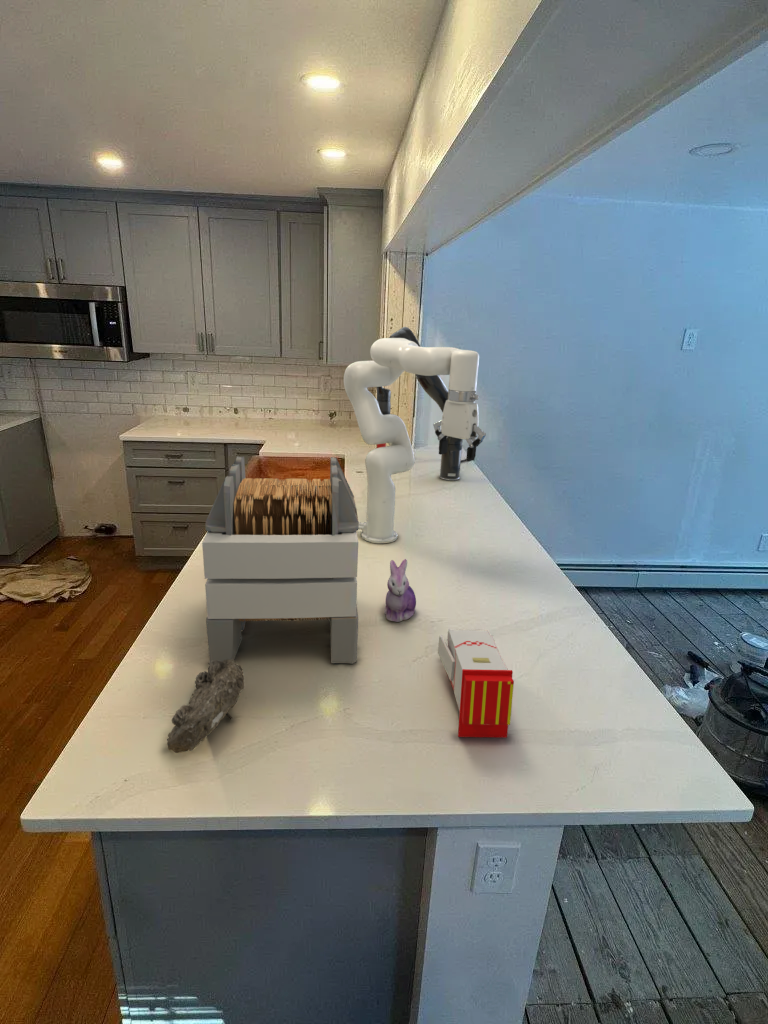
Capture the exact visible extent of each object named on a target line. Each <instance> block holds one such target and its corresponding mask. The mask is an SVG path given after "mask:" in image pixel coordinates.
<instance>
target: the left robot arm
mask: <svg viewBox="0 0 768 1024" xmlns="http://www.w3.org/2000/svg"><path fill="white" fill-rule="evenodd" d="M369 356H370V357H371V359H372V360H359V361H355V362H352V363H349V365H347V367H346V368H345V370H344V373H343V388H344V391H345V394H346V396H347V398H348V400H349V402H350V404H351V406H352V409H353V412H354V415H355V419H356V423H357V426H358V429H359V433H360V436H361V438H362V440H363V442H364V443H365V444H366V445H369V446H375V445H376V446H377V444H384V443H386V444H388V445H386V447H379V448H377V447H375V448H373V449H371V450H369V451H368V453H367V454H366V455H365V459H364V465H365V471H366V480H367V481H366V482H367V483H366V490H367V491H366V519H365V520H366V521H364V522H362V521H359V529H358V530H361V534H360V535H361V538H362V539H363V540H364V541H366V542H368V543H373V544H389V543H393V542H395V541H397V540H398V537H399V534H398V532H397V531H396V530H395V528H394V527H395V510H396V509H395V508H396V507H395V506H396V485H395V482H394V481H393V479H392V476H393V475H397V474H402V473H407V472H409V471H411V470H412V469H413V467H414V466H415V460H416V459H415V452H414V449H413V446H412V442H411V439H410V436H409V433H408V429H407V425H406V424H405V422H404V420H403V419H402V418H401V417H400V416H399V415H397V414H393V413H390V414H388V415H383V414H382V413H381V411H380V408H379V404H378V402H377V397H375V396H374V394H373V393H372V392H371V391H369V389H368V388H376V387H388V386H391V385H393V384H394V383H395V382H396V381H397V380H398V379H399V378H400V377H401V375H402V374H403V373H404V372H406V373H408V374H412V375H413V374H414V375H416V374H418V375H425V376H433V375H439V376H449V379H448V389H447V390H448V400H446V403H445V406H444V410H443V412H442V416H441V420H439V421H436V422H434V423H433V424H432V425H433V428H434V434H435V435H436V437H437V440H438V441H439V442H438V455H440V456H441V455H442V454H446V453H447V447H448V440H447V439H446V438H447V437H448V436H450V437H455V438H459V439H463V441H466V442H467V444H468V447H467V448H466V456H465V457H466V458H465V459H466V461H465V462H468V463H469V462H472V461H475V459H476V455H477V447H479V446H480V445H481V444H482V443H483V440H484V439H485V437H486V436H487V433H486V432H485V431H484V430H483V429H482V428H480V427H479V425H480V424H479V423H480V420H479V419H480V417H479V415H480V414H479V412H480V411H479V404H478V402H476V401H478V400H479V397H480V396H479V394H477V386H478V374H479V363H480V354H479V352H477V351H476V350H471V349H460V348H457V347H454V346H453V347H452V346H430V347H427V346H426V347H425V346H421V347H419V346H418V345H417V344H416V343H415V342H413V341H409V340H407V339H405V338H389V337H382V338H379V339H377V340H375V341H374V342H373V343H372V345H371V346H370V349H369Z"/></svg>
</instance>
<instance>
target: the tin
mask: <svg viewBox="0 0 768 1024" xmlns="http://www.w3.org/2000/svg"><path fill="white" fill-rule="evenodd" d="M386 446H387V443H384V444H377V445H376V448H379V447H386Z"/></svg>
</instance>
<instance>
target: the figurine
mask: <svg viewBox="0 0 768 1024" xmlns="http://www.w3.org/2000/svg"><path fill="white" fill-rule="evenodd" d="M407 567H408V559H406V558H404V559H403V560H402V561H401V563H400V565H399V566H398V565H397V563H396V562H395V561H394V560H393V559H391V560H390V561H389V570H390V576H389V578H388V579H387V589H388V591H387V592H386V594H385V595H386V596H385V607H384V615H385V616H386V620H387V621H391V622H395V623H400V622H402V621H406V620H409V619H410V618H411V617H413V616H414V615H415V610H416V606H417V597H416V593H415V591H414V590H413V587H411V586H410V582H409V579H408V577H407V574H406V571H407Z"/></svg>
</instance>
